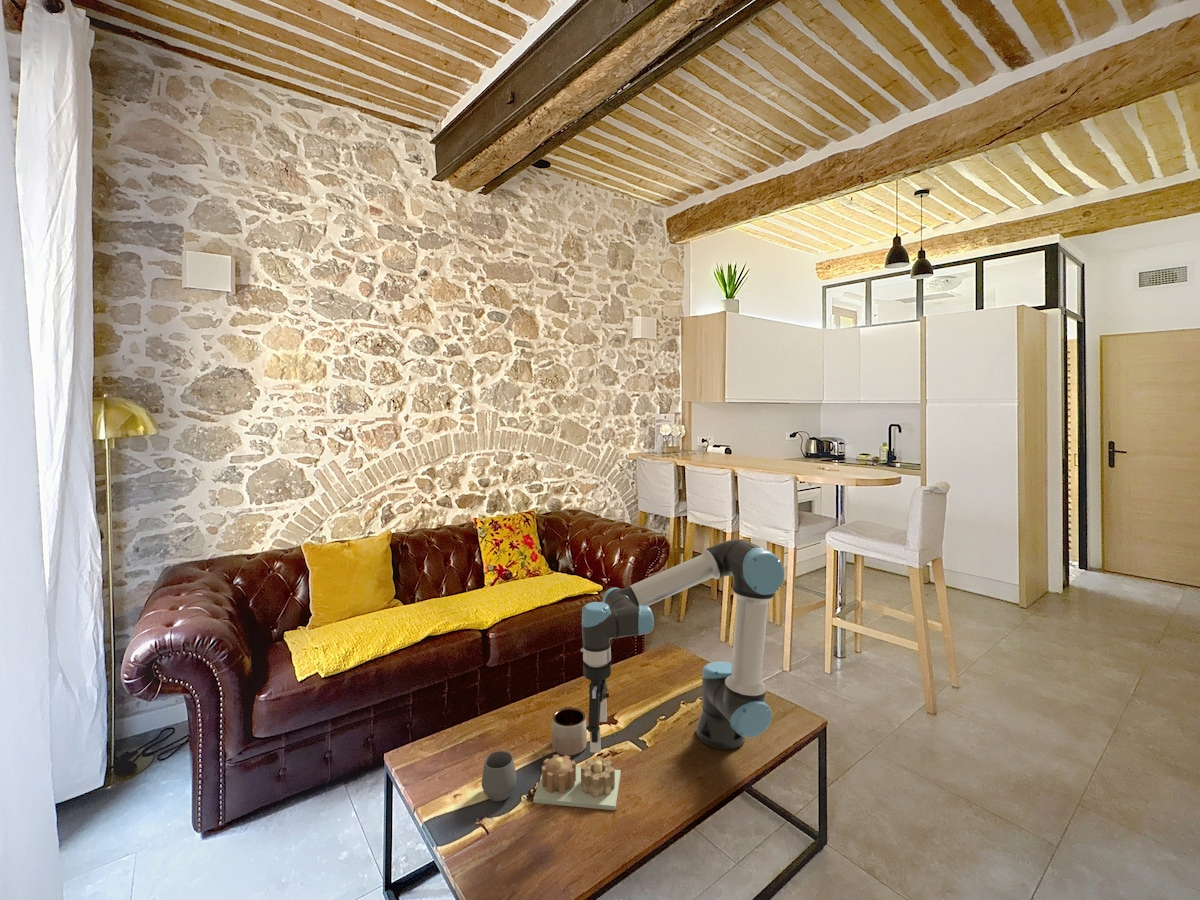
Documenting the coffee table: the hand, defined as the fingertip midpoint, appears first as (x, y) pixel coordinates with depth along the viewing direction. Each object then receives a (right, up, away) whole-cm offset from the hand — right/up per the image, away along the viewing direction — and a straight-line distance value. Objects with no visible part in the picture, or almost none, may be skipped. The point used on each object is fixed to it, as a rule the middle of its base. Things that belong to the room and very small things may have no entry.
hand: (599, 735), depth 148 cm
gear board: (-6, -16, +2) cm, 17 cm away
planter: (-9, -14, +21) cm, 27 cm away
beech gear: (0, -14, +1) cm, 14 cm away
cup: (-27, -16, 0) cm, 32 cm away
